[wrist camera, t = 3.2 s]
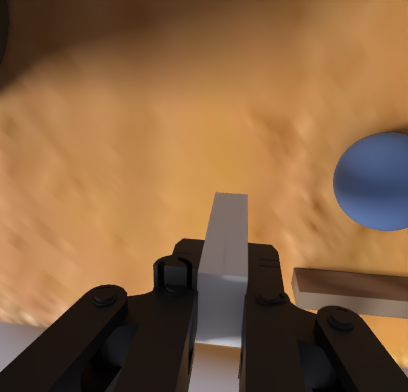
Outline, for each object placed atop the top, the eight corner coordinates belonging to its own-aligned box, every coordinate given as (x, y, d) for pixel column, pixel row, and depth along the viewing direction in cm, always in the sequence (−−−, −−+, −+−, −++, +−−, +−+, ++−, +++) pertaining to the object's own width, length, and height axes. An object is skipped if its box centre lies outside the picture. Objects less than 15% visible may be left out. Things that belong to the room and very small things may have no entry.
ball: (317, 203, 26) (338, 245, 20) (332, 120, 23) (359, 143, 18) (403, 209, 25) (448, 254, 20) (426, 125, 23) (484, 150, 17)
